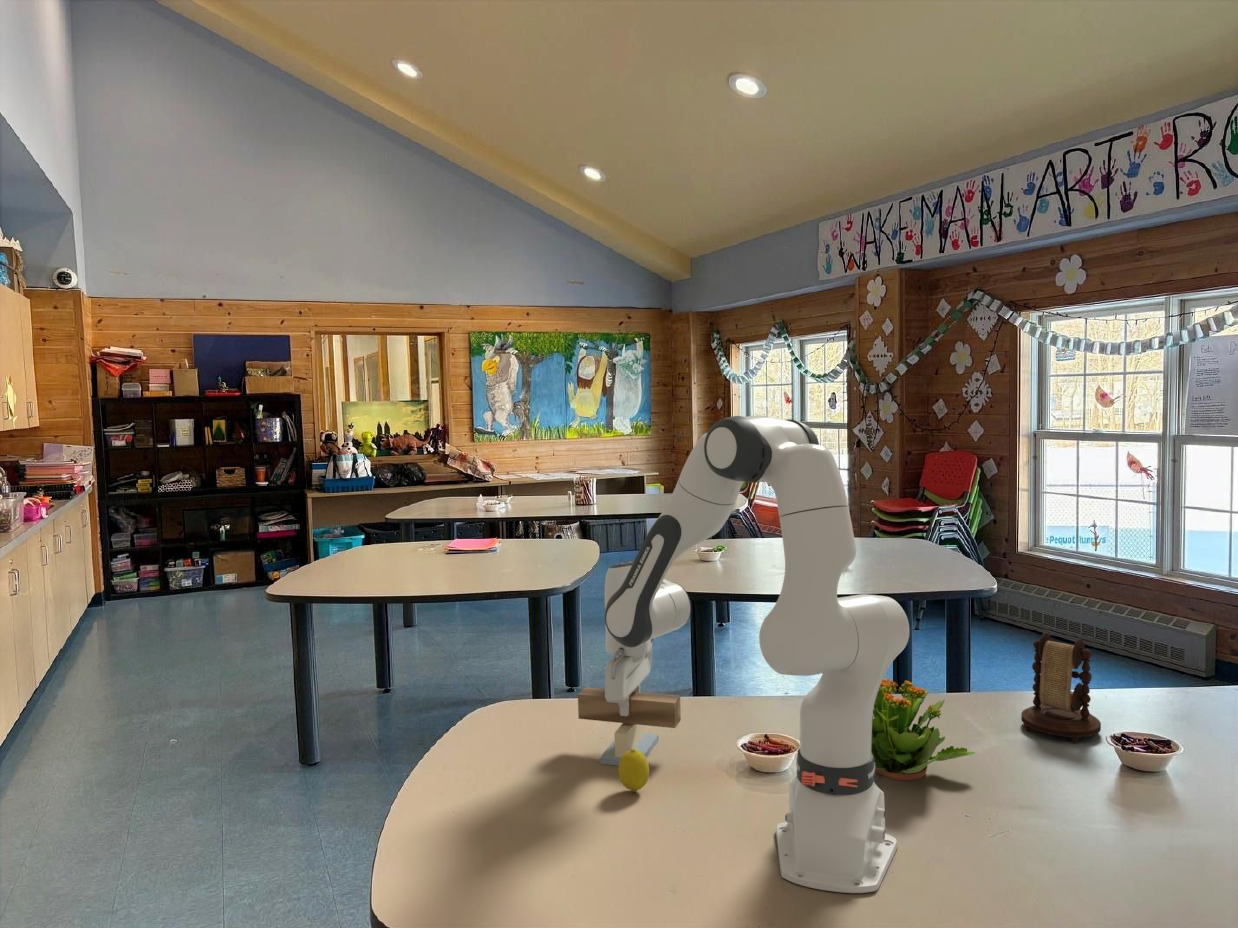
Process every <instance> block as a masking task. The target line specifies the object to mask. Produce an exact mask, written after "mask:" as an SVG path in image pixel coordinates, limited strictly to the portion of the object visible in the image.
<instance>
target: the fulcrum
mask: <svg viewBox="0 0 1238 928" xmlns="http://www.w3.org/2000/svg"><path fill="white" fill-rule="evenodd" d="M659 738H660V737H659V734H656V733H645V725H637V724H627V723H621V725H620V726H619V727H618V728H617V730H615V732H614V739H613V741H612V742H611V743H610V745H609V746H608V747H607V748H606V750H604V752H603V753H602V754H601V755H600V756H599V764H602V765H609V766H618V767H619V762H620V759H621V757H622V756H623V754H625V753H626V752H627V751H630V750H631V749H635V750H638V751H640V752H641V753H643V754H644V755H645V757H646V759H647V758H648V757H649V755H650V754H651V752H652V750H653V749H654V748H655V746H656V745H657V743H658V742H659V740H660V739H659Z"/></svg>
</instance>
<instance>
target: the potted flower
mask: <svg viewBox="0 0 1238 928" xmlns="http://www.w3.org/2000/svg"><path fill="white" fill-rule="evenodd" d="M903 682H904V683H902V684H901V685H900V686H901V687H898V686H899V685H898V683H897V682H896V681H893V680H890V679H889V678H888V677H887V678H883V680H882V682H881V685H880V687H879V690H878V693H877V696H876V700H875V704H874V709H873V719H872V749H871V753H872V754H873V756H874V763H875V773H878V774H879V775H881V776H883V777H885V778H888V779H892V780H895V781H896V780H897V781H898V780H899V781H910V780H919V779H920V778H922V777H924V776H925V775H926V773H927V769H928V765H929V764H931V763H933V762H935V761H938V762H941V761H947V760H951V759H957V758H961V757H965V756H969V755H970V756H971V755H975V754H976V752H975V751H968V749H967V748H966V747H960V748H959V747H955V748H954V745H950V746H949V747H946V748H941V750H940V751H937V754H936V755H933V754H934V753H935V751H936V749H937V747H938V746H939V745H940V744H942V743H943V742H944V741H945V738H946V736H942V737H940V735H941V734H940V729H939V727H936V728H935V726H932V727H929V724H930V723H931V721H932V720H934V719H935V718H938V719H941V717H940V716H941V715H942V709H941V708H942V707H943V705H944V704H945V701H946V699H945V698H944V699H942V700H939V701H937V702H936V703H933V704H929V705H928V707H927V709H926V710H925V712H923V715H919V717H918V720H917V723H913V721H914V720H915V718H916V717H917V715H918V712H919V710H920V707H921V705H922V704H923V703H924V701H925V699H926V697H927V696H928V694H929V693H930V691H928V690H927V689H925V688H923V687H917V686H914V684H913V683H912V682H910V681H909V680H904V681H903ZM897 687H898V692H899V693H900V695H901V696H902V698H895V695H894V693H893V692H895V693H896V692H897ZM927 720H928V722H927ZM925 722H927V723H926V725H924V726H922V725H923V724H924V723H925ZM911 726H912V727H911ZM921 726H922V727H921ZM910 727H911V729H910Z"/></svg>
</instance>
